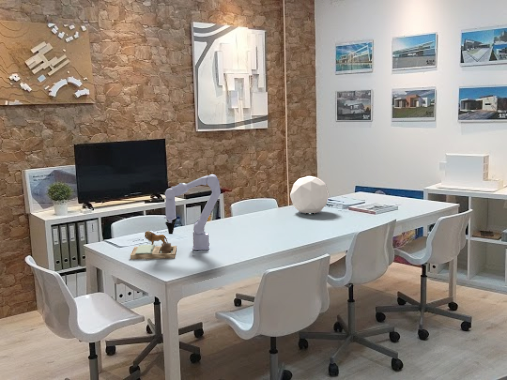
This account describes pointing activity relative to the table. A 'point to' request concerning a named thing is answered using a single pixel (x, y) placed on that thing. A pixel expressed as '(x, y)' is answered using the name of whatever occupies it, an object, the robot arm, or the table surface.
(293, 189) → the geometric form
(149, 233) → the lion figurine
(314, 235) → the table surface
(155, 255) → the wooden frame
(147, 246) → the lid
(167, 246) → the walnut cube
